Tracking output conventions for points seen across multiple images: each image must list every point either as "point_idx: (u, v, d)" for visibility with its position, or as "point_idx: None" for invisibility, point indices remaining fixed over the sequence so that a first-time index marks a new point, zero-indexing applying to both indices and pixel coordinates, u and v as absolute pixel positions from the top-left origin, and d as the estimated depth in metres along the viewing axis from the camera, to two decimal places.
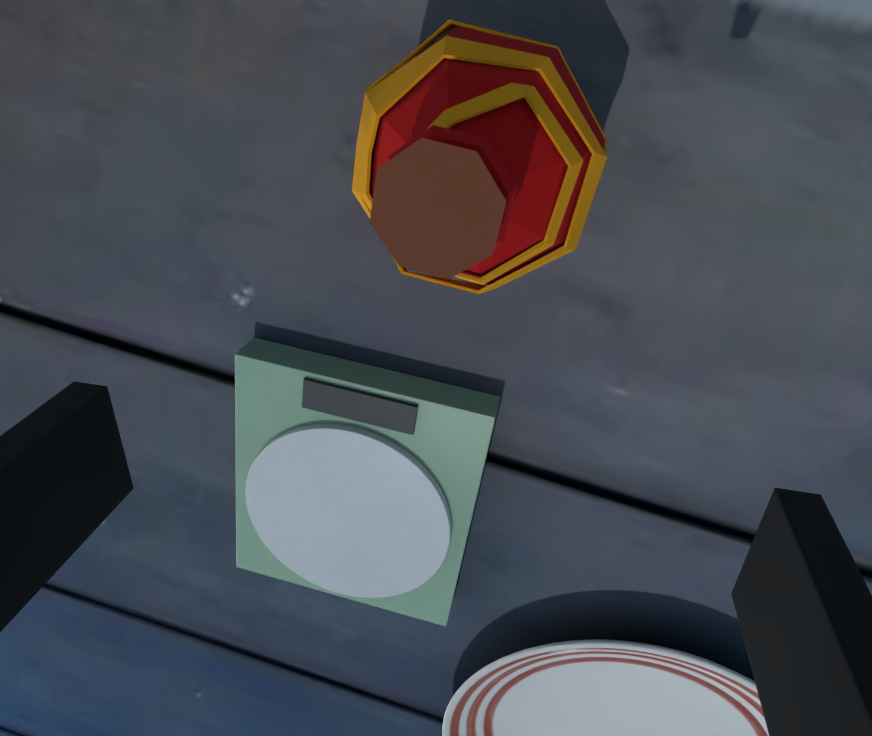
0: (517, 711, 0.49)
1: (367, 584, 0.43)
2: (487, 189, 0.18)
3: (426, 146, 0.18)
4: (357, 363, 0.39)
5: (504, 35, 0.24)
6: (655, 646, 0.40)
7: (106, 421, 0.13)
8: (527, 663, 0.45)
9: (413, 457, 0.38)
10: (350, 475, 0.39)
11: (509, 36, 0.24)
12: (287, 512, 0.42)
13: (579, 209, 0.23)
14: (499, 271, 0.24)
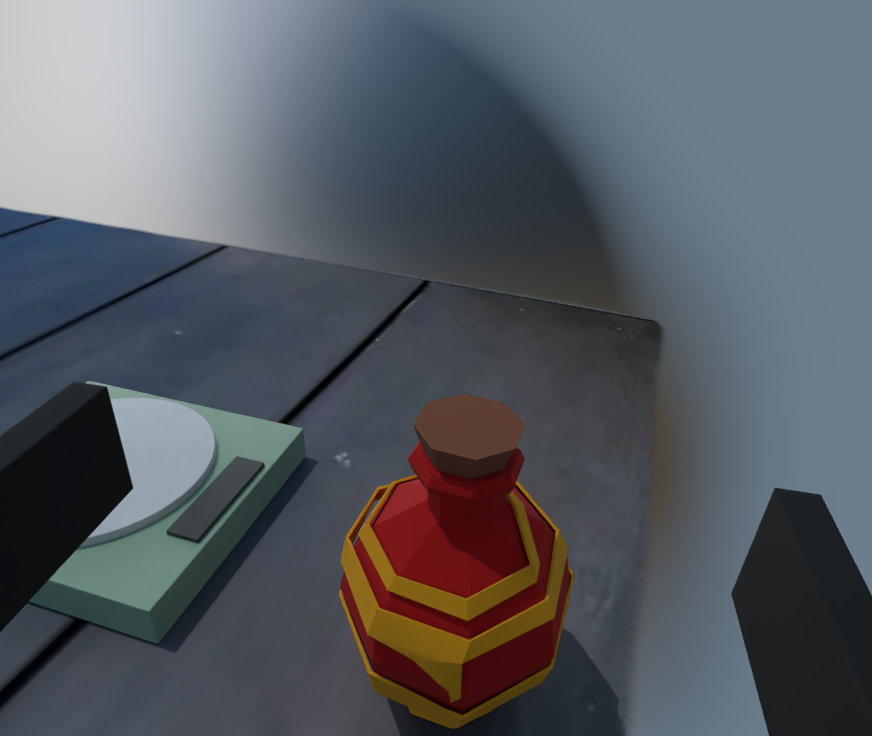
0: None
1: None
2: (485, 451, 0.22)
3: (519, 425, 0.23)
4: (253, 520, 0.39)
5: (562, 619, 0.27)
6: None
7: (106, 421, 0.13)
8: None
9: (136, 529, 0.35)
10: (146, 472, 0.38)
11: (561, 623, 0.26)
12: (130, 421, 0.42)
13: (415, 625, 0.23)
14: (371, 539, 0.25)
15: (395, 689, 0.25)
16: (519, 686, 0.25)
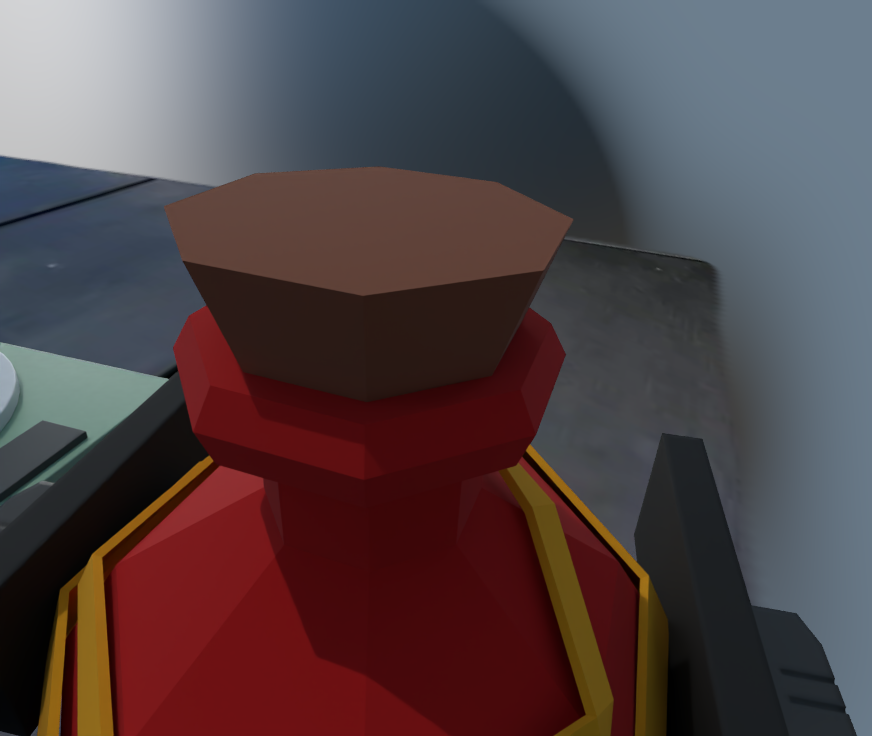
0: None
1: None
2: (416, 273, 0.05)
3: (552, 221, 0.06)
4: None
5: None
6: None
7: None
8: None
9: None
10: None
11: None
12: None
13: None
14: (90, 608, 0.08)
15: None
16: None
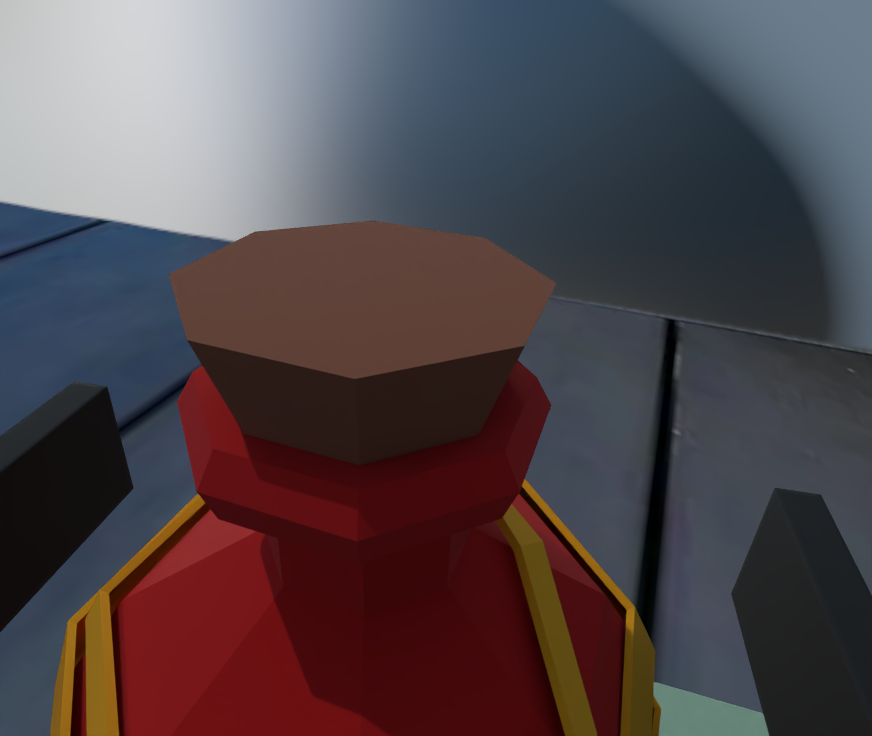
0: None
1: None
2: (404, 351, 0.05)
3: (536, 285, 0.07)
4: None
5: None
6: None
7: (106, 421, 0.13)
8: None
9: None
10: None
11: None
12: None
13: None
14: (97, 644, 0.08)
15: None
16: None
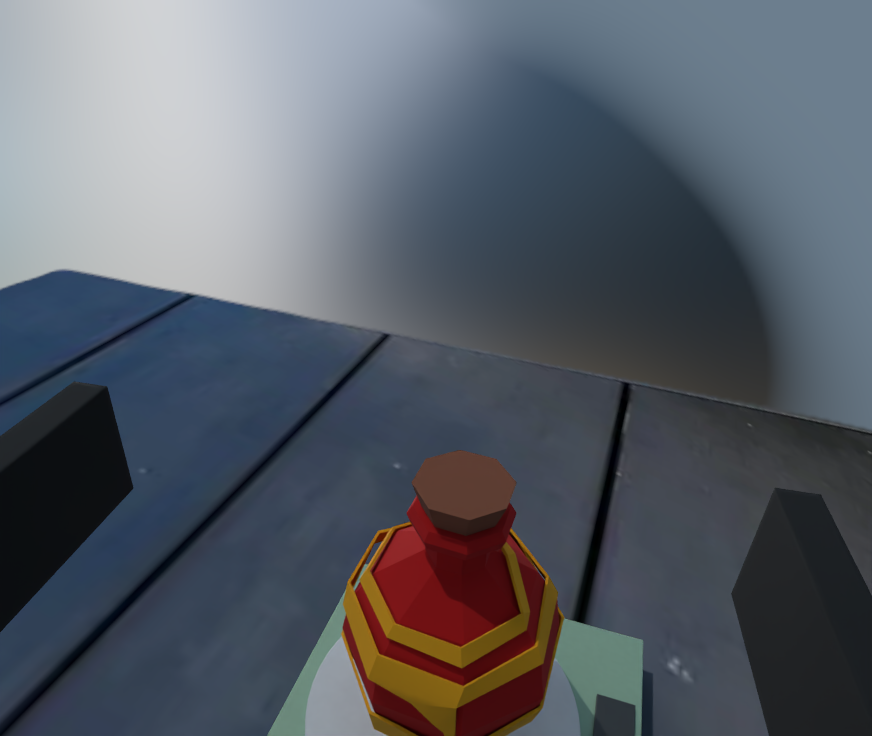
0: None
1: (331, 711, 0.32)
2: (478, 511, 0.23)
3: (510, 483, 0.25)
4: None
5: (552, 660, 0.28)
6: None
7: (106, 421, 0.13)
8: None
9: None
10: None
11: (551, 664, 0.28)
12: None
13: (413, 671, 0.24)
14: (372, 586, 0.26)
15: (393, 728, 0.26)
16: (510, 726, 0.26)
